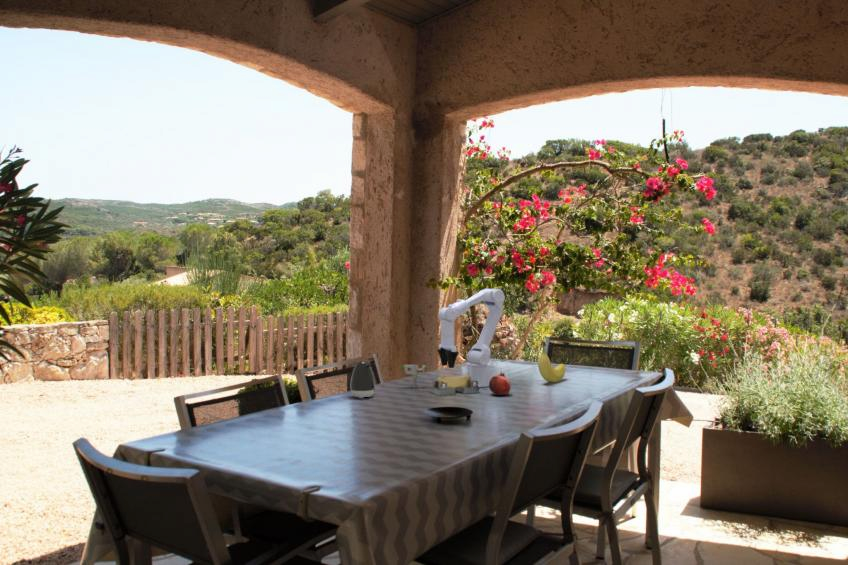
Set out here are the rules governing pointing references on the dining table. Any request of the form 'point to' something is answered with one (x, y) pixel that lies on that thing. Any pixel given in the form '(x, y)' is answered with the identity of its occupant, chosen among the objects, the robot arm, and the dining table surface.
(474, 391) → the chain end
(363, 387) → the dark grey speaker
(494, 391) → the fruit
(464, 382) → the master link
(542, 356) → the banana
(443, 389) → the chain end
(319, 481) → the dining table surface
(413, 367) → the mechanical component
